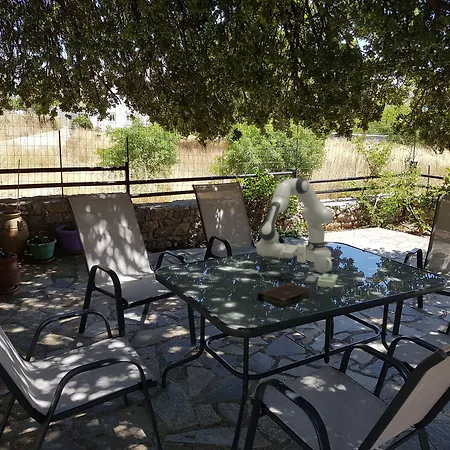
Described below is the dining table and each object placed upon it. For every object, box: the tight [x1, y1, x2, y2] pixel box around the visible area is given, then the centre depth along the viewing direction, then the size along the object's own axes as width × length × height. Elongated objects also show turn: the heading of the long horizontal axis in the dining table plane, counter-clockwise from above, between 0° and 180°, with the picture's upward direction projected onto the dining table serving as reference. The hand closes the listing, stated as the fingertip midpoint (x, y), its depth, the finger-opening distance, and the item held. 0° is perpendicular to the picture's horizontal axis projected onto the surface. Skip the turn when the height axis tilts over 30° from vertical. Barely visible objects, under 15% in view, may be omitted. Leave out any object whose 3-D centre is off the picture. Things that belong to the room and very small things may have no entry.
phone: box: [303, 274, 319, 285], centre depth 273 cm, size 13×6×1 cm, turn 158°
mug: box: [313, 251, 333, 274], centre depth 289 cm, size 15×11×13 cm
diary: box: [256, 282, 312, 308], centre depth 241 cm, size 19×25×5 cm
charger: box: [296, 243, 307, 264], centre depth 273 cm, size 4×4×11 cm
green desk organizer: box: [316, 273, 339, 289], centre depth 270 cm, size 22×9×4 cm, turn 158°
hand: (303, 252), depth 272 cm, fingers closed on charger, 4 cm apart
